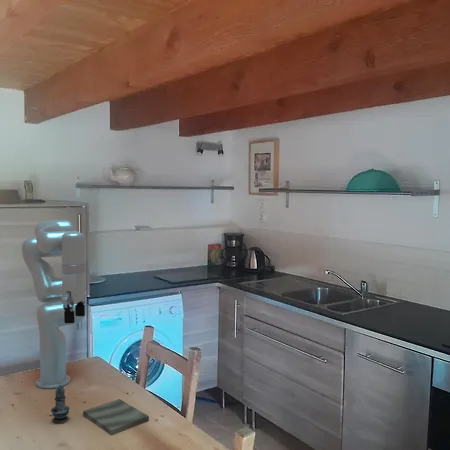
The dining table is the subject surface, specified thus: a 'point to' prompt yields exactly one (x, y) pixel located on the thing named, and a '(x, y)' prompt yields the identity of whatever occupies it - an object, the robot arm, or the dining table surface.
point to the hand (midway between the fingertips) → (74, 319)
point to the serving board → (115, 416)
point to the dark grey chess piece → (60, 407)
